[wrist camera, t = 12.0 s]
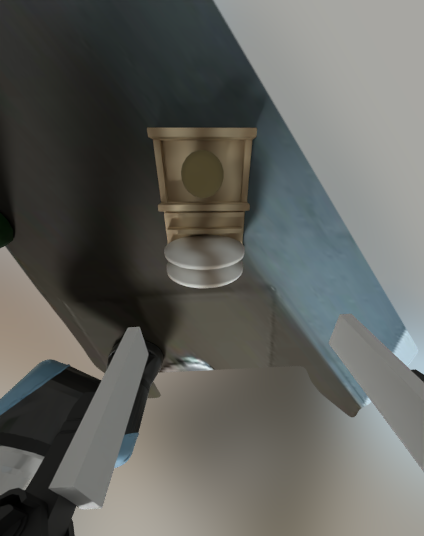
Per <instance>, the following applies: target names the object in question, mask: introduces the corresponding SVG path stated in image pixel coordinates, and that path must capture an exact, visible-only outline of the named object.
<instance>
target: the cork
mask: <svg viewBox="0 0 424 536" xmlns="http://www.w3.org/2000/svg"><path fill="white" fill-rule="evenodd" d="M181 178H182V182H183V184H184V187H185V188H186V189H187V191H188V192H189V193H191V194H192V195H193V196H196V197H199V198H207V197H210V196H213V195H214V194H215V193H216V192H218V190H219V189H220V187H221V185H222V182H223V179H224V171H223V167H222V164H221V162H220V160H219V159H218V157H217V156H215V155H214V154H213V153H212V152H209V151H206V150H197V151H195V152H192V153H191V154H190V155H189V156H187V157H186V159H185V161H184V162H183V164H182V169H181Z"/></svg>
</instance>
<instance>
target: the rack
mask: <svg viewBox="0 0 424 536" xmlns="http://www.w3.org/2000/svg"><path fill="white" fill-rule="evenodd" d="M147 133H148V137H149V138H151V139H153V144H154V152H155V159H156V167H157V174H158V182H159V189H160V197H161V203H160V204H159V205H158V210H159V211H164V217H165V225H166V232H167V240H168V245H166V247H165V249H164V253H165V257H166V259H167V260H168V261H169V262H168V263H167V273H168V275H169V277H170V278H171V279H172V280H173V281H175V282H177V283H179V284H181V285H184V286H188V287H193V288H214V287H219V286H223V285H227V284H229V283H231V282H233V281H235V280H236V279H238V278H239V277H240V276H241V274H242V271H243V262H242V261H241V259H242V258H243V256H244V251H245V248H244V246H243V244H242V240H243V228H244V216H245V211H249V208H250V204H249V203H247V194H248V183H249V171H250V160H251V148H252V139H254V138H255V137H256V134H257V128H147ZM197 150H206V151H209V152H212V153H213V154H214V155H215V156H217V157H218V159H219V160H220V162H221V164H222V167H223V171H224V179H223V182H222V185H221V187H220V189H219V190H218V192H216V193H215V194H214V195H213V196H210V197H207V198H199V197H196V196H193V195H192V194H191V193H189V192H188V191H187V189H186V188H185V187H184V184H183V182H182V178H181V169H182V164H183V162H184V161H185V159H186V157H187V156H189V155H190V154H191V153H192V152H195V151H197Z"/></svg>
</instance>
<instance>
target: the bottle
mask: <svg viewBox="0 0 424 536" xmlns="http://www.w3.org/2000/svg"><path fill="white" fill-rule="evenodd" d="M12 240H13V229H12V227H11V225H10V223H9V222H8V220H7V218H5V217H4V216H3V215H2V214H1V213H0V248H1V247H4V246H6V245H7V244H9V243H10V242H11V241H12Z"/></svg>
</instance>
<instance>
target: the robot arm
mask: <svg viewBox="0 0 424 536" xmlns="http://www.w3.org/2000/svg"><path fill="white" fill-rule="evenodd" d="M329 344H330V346H331V347H332V348H333V350H334V351H335V352H336V354H337V355H338V357H339V358H340V359H341V361H342V362H343V363H344V365H345V366H346V367H347V369H348V370H349V371H350V373H351V374H352V375H353V377H354V378H355V379H356V381H357V382H358V384H359V385H360V386H361V388H362V389H363V390H364V392H365V393H366V394H367V396H368V397H369V398H370V400H371V401H372V402H373V404H374V405H375V406H376V408H377V409H378V411H379V412H380V413H381V415H382V416H383V417H384V419H385V420H386V421H387V423H388V424H389V425H390V427H391V428H392V429H393V431H394V432H395V433H396V435H397V436H398V437H399V439H400V440H401V442H402V443H403V444H404V445H405V447H406V448H407V450H408V451H409V452H410V454H411V455H412V456H413V458H414V459H415V461H416V462H417V463H418V465H419V466H420V467H421V469H422V470H423V471H424V375H423V374H422V373H420V372H419V371H417V370H410V369H409V368H408V367H407V366H406V365H405V364H404V363H403V362H402V361H401V360H399V359H398V358H397V357H396V356H395V355H394V354H393V353H392V352H391V351H390V350H389V349H388V348H387V347H386V346H385V345H384V344H383V343H381V342H380V341H379V340H378V339H377V338H376V337H375V336H374V335H373V334H372V333H371V332H370V331H369V330H368V329H367V328H366V327H365V326H364V325H362V324H361V323H360V322H359V321H358V320H357V319H356V318H355V317H354V316H353V315H352V314H341V315H339V318H338V320H337V323H336V326H335V328H334V331H333V333H332V336H331V338H330V341H329ZM162 363H163V353H162V351H161V350H160V349H159V348H158V347H157V346H156V345H154V344H152V343H150V342H148V341H145V340H144V339H143V335H142V332H141V329H140V327H128V328H127V330H126V332H125V334H124V336H123V338H122V340H121V341H120V342H118V343H117V344H116V345H115V346H114V347H113V349H112V350H111V352H110V354H109V357H108V364H107V370H106V373H105V375H104V377H103V379H102V381H101V380H99V379H97V378H95V377H92V376H90V375H88V374H86V373H84V372H81V371H79V370H77V369H75V368H73V367H71V366H70V365H69V364H68V365H66V364H63V363H60V362H58V361H55V360H45V361H42V362H41V363H39V364H38V365H37V366H36V367H35V368H34V369H32V370H31V371H30V372H29V373H28V374H27V375H26V376H25V377H24V378H23V379H22V380H20V381H19V382H18V383H17V384H16V385H15V386H14V387H13V388H12V389H11V390H10V391H9V392H8V393H6V394H5V395H4V396H3V397H2V398H1V399H0V536H75V535H74V527H73V521H72V519H71V518H72V516H73V513H74V511H75V508H76V506H77V507H79V508H80V509H82V510H84V509H96V508H102V506H103V503H104V499H105V496H106V493H107V489H108V486H109V483H110V480H111V477H112V473H113V470H114V468H116V467H119V466H121V465H123V464H124V463H126V462H127V461H128V460H129V458H130V457H131V455H132V452H133V449H134V446H135V443H136V439H137V437H138V435H139V433H138V432H139V428H140V424H141V420H142V416H143V412H144V408H145V405H146V400H147V397H148V393H149V389H150V386H151V384H152V382H153V381H154V379H155V377H156V376H157V374H158V372H159V371H160V369H161V367H162ZM32 478H33V479H32ZM30 479H32V480H31V482H30V484H29V486H28V487H27V488H26V490H24V489H25V487H26V485H27V484H28V482H29V480H30Z"/></svg>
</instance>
